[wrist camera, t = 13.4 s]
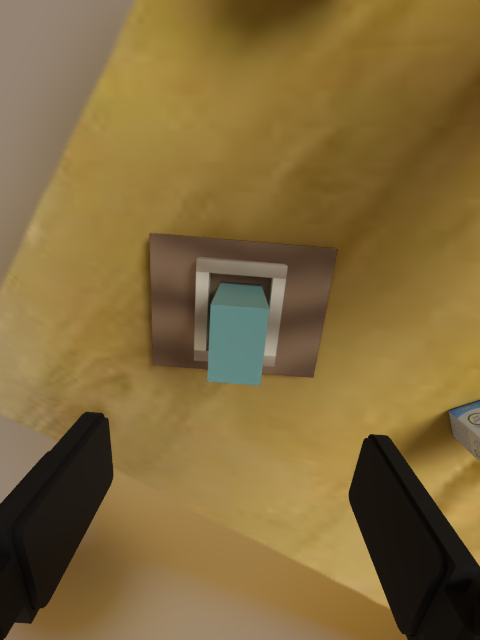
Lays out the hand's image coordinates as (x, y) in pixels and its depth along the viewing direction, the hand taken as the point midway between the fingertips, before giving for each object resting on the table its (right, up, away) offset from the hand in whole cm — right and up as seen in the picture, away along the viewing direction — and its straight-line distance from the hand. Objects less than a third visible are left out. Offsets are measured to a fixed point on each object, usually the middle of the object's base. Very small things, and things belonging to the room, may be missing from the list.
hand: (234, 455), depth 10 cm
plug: (0, +6, +18) cm, 19 cm away
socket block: (0, +6, +19) cm, 20 cm away
